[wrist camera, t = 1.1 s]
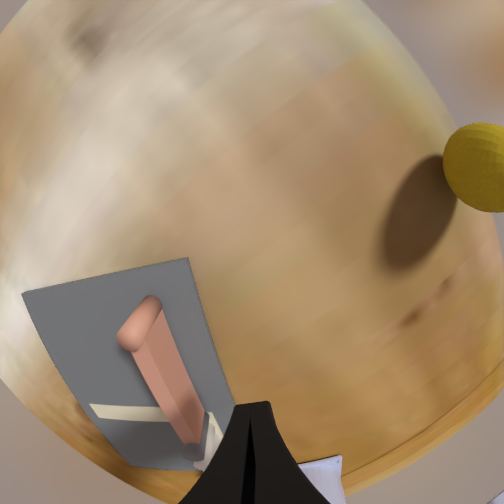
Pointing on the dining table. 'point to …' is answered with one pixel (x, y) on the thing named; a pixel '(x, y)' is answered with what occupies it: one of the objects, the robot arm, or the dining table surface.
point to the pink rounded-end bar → (166, 374)
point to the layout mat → (132, 358)
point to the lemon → (477, 166)
